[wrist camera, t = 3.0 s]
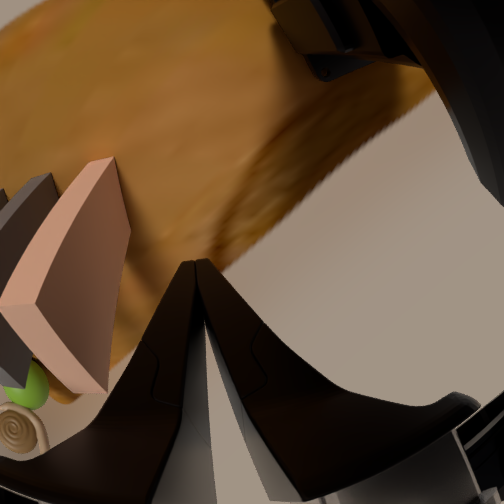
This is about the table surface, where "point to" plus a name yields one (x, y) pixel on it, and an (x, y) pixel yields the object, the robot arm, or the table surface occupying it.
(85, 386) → the domino
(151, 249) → the table surface
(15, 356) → the domino
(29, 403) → the snail figurine
